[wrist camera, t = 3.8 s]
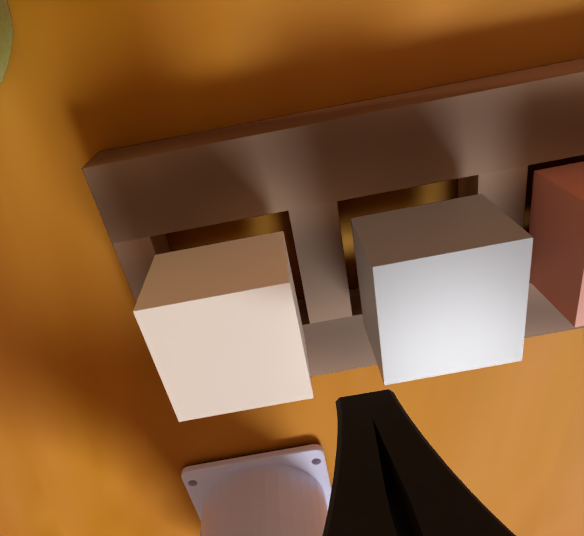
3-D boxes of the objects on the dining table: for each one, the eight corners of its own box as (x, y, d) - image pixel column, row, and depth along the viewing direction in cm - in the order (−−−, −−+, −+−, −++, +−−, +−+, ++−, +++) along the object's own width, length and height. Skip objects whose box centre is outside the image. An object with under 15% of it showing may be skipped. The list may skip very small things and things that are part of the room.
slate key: (478, 302, 19) (522, 360, 16) (363, 323, 19) (384, 385, 16) (481, 193, 16) (533, 237, 13) (350, 218, 17) (372, 267, 14)
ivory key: (303, 333, 19) (313, 397, 16) (190, 354, 19) (178, 421, 16) (283, 230, 17) (289, 282, 14) (154, 254, 17) (132, 311, 14)
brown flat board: (631, 289, 23) (662, 313, 21) (182, 370, 23) (176, 400, 21) (686, 38, 17) (735, 42, 16) (98, 151, 18) (81, 168, 16)
